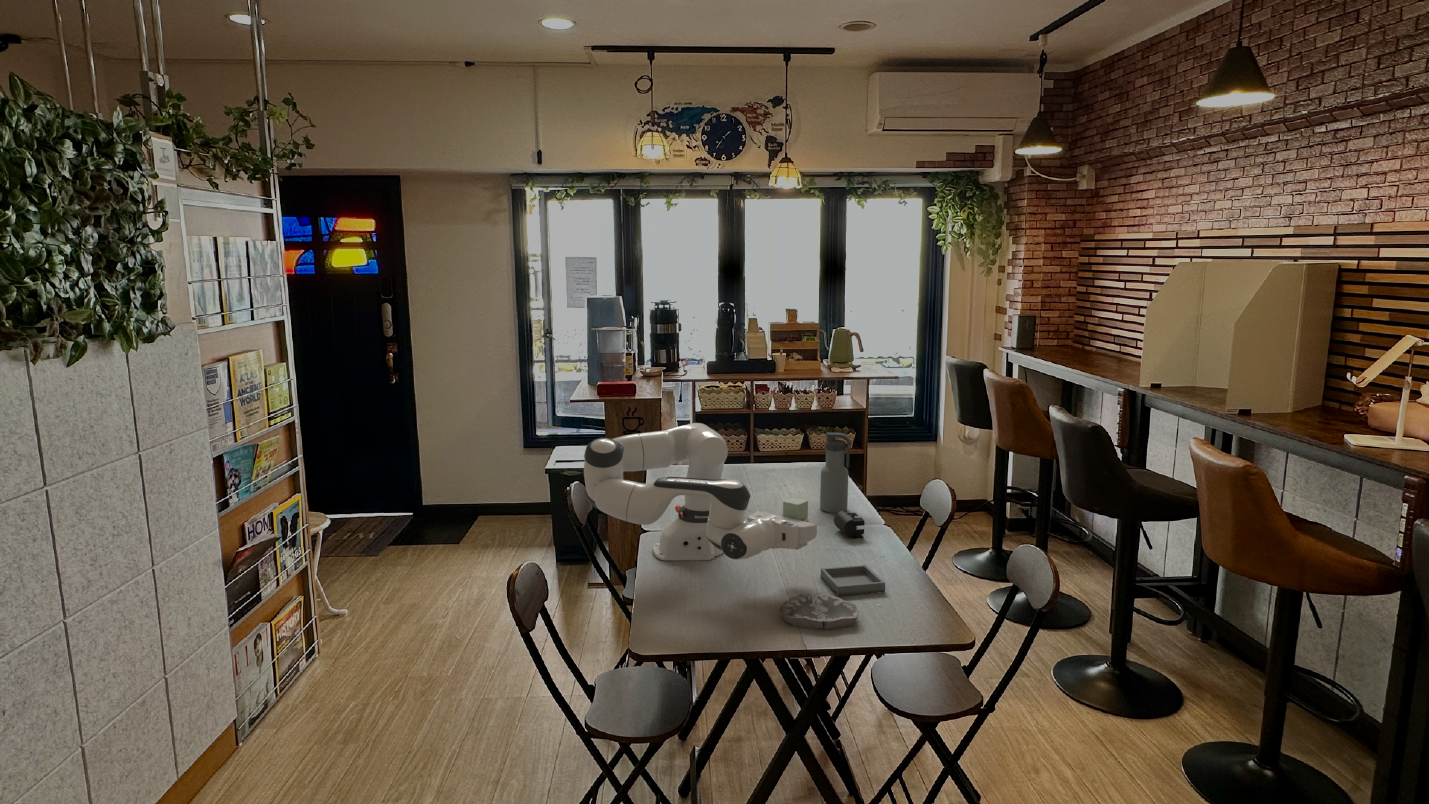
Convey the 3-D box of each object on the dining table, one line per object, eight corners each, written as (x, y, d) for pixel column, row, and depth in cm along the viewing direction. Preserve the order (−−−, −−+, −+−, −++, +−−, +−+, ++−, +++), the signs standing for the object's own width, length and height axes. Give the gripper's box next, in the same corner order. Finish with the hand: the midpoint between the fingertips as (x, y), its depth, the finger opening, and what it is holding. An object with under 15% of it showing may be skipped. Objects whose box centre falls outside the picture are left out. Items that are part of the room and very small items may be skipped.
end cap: (833, 530, 281) (833, 511, 280) (853, 529, 282) (853, 509, 281) (843, 540, 271) (844, 520, 270) (864, 538, 273) (865, 518, 272)
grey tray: (837, 596, 226) (837, 586, 226) (820, 577, 239) (820, 568, 239) (884, 592, 229) (885, 582, 229) (865, 574, 242) (865, 564, 242)
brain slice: (849, 603, 222) (849, 593, 222) (862, 632, 206) (863, 620, 205) (775, 604, 222) (775, 593, 221) (782, 633, 205) (782, 621, 204)
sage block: (797, 549, 235) (798, 504, 233) (782, 545, 238) (783, 501, 236) (807, 545, 239) (808, 500, 237) (792, 541, 242) (793, 497, 240)
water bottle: (847, 506, 308) (850, 431, 303) (849, 514, 299) (851, 436, 294) (819, 505, 309) (821, 430, 304) (820, 513, 300) (822, 436, 295)
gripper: (737, 534, 234) (767, 522, 245) (799, 550, 222) (827, 537, 232) (737, 512, 233) (767, 501, 244) (799, 527, 221) (827, 515, 231)
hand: (797, 519), depth 238 cm, fingers closed on sage block, 5 cm apart
